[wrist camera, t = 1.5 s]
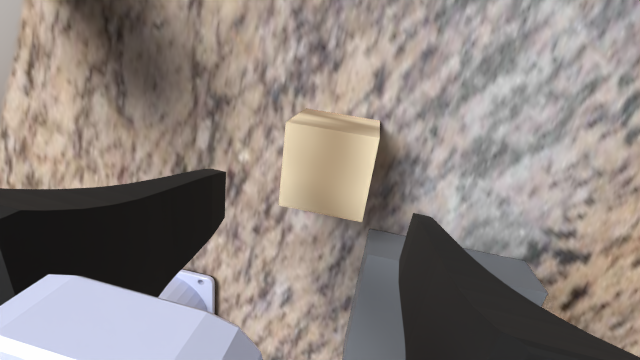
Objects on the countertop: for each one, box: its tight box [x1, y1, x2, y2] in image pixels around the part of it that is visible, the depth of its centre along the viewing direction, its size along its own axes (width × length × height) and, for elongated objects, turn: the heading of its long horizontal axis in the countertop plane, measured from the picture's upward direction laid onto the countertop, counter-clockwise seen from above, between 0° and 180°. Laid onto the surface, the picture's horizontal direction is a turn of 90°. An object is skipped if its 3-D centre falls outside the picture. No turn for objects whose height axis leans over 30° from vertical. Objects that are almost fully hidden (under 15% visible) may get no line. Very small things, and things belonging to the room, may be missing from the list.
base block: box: [342, 229, 548, 360], centre depth 21 cm, size 10×10×3 cm
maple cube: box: [279, 109, 380, 222], centre depth 18 cm, size 4×4×4 cm
